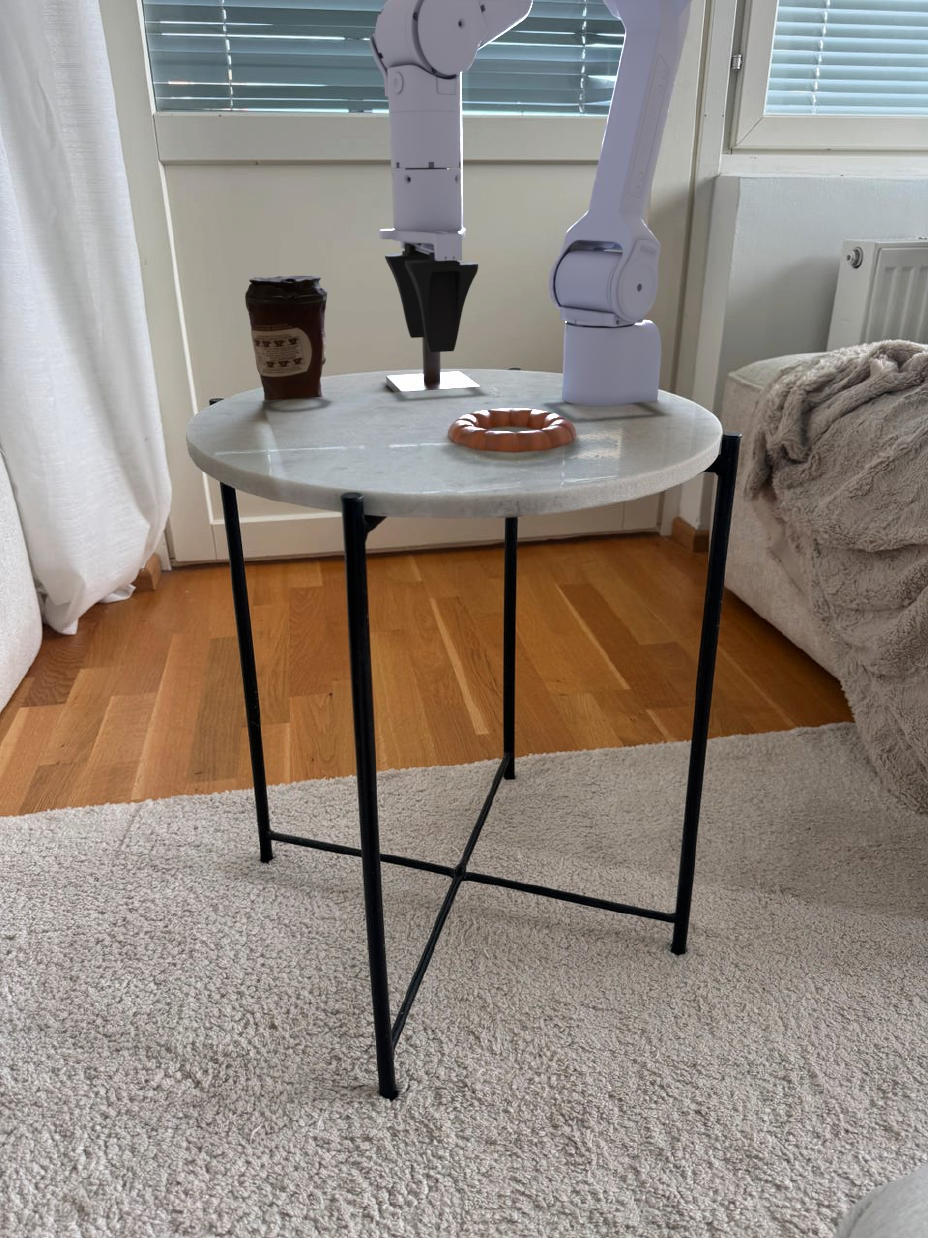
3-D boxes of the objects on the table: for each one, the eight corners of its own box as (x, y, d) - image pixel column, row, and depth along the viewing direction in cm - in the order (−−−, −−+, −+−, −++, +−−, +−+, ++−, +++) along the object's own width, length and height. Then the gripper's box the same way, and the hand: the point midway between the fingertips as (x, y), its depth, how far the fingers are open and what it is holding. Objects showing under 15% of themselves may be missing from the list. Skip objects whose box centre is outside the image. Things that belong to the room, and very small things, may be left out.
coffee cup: (317, 415, 94) (307, 281, 89) (242, 412, 96) (227, 280, 90) (344, 397, 102) (336, 273, 96) (274, 394, 104) (262, 272, 98)
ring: (548, 428, 89) (549, 402, 88) (593, 460, 79) (594, 430, 78) (436, 437, 86) (436, 410, 85) (468, 471, 76) (468, 440, 75)
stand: (459, 379, 110) (459, 323, 107) (480, 395, 102) (480, 335, 100) (386, 384, 108) (383, 327, 105) (402, 400, 100) (399, 339, 98)
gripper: (363, 170, 79) (371, 333, 85) (394, 169, 66) (402, 361, 72) (442, 169, 80) (445, 329, 86) (488, 168, 68) (488, 356, 74)
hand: (431, 343), depth 79 cm, fingers open, 7 cm apart
